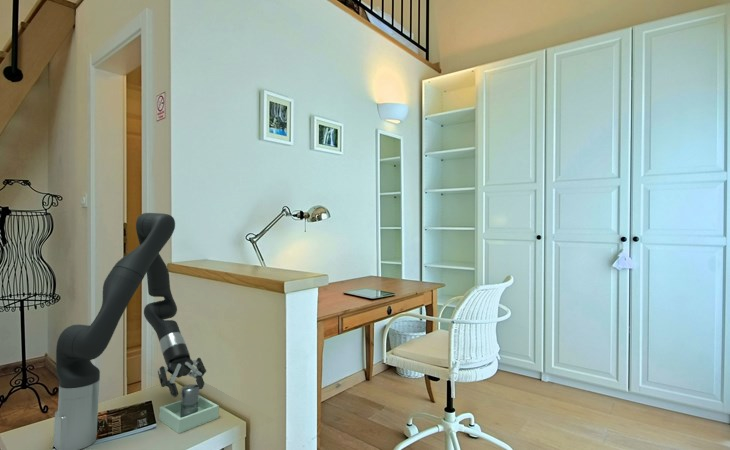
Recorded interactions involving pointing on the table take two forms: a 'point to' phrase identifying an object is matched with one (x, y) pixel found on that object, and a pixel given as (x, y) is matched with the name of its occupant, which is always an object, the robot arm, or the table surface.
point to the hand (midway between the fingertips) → (189, 391)
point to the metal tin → (189, 400)
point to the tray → (173, 420)
